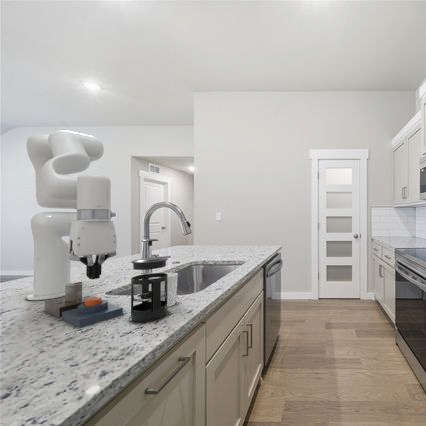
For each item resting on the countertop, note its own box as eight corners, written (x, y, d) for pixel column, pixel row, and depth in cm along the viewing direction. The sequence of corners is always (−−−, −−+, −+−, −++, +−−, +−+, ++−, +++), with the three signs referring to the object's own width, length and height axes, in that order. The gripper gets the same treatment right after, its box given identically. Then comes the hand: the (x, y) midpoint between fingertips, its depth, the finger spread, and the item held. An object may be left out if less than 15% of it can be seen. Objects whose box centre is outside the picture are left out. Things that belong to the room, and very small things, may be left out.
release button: (82, 305, 74) (82, 299, 74) (98, 302, 77) (98, 296, 77) (88, 307, 72) (88, 301, 72) (103, 304, 75) (103, 298, 75)
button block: (61, 319, 73) (62, 305, 73) (104, 308, 82) (104, 295, 82) (79, 328, 67) (79, 313, 67) (123, 315, 76) (123, 301, 76)
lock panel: (44, 310, 80) (44, 300, 80) (85, 301, 88) (85, 292, 88) (59, 318, 74) (59, 307, 74) (101, 307, 83) (101, 297, 83)
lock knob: (67, 302, 78) (67, 285, 79) (62, 300, 80) (63, 283, 80) (84, 298, 82) (84, 282, 82) (79, 296, 84) (79, 280, 84)
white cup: (157, 311, 79) (157, 279, 79) (145, 306, 83) (145, 276, 84) (182, 303, 86) (182, 274, 86) (170, 299, 90) (170, 271, 90)
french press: (125, 316, 75) (126, 239, 75) (161, 308, 82) (161, 237, 82) (136, 328, 67) (137, 241, 67) (175, 317, 74) (175, 239, 74)
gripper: (117, 216, 83) (117, 272, 83) (54, 216, 70) (53, 283, 70) (129, 216, 80) (129, 274, 79) (64, 216, 66) (64, 286, 66)
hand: (94, 278), depth 74 cm, fingers closed
